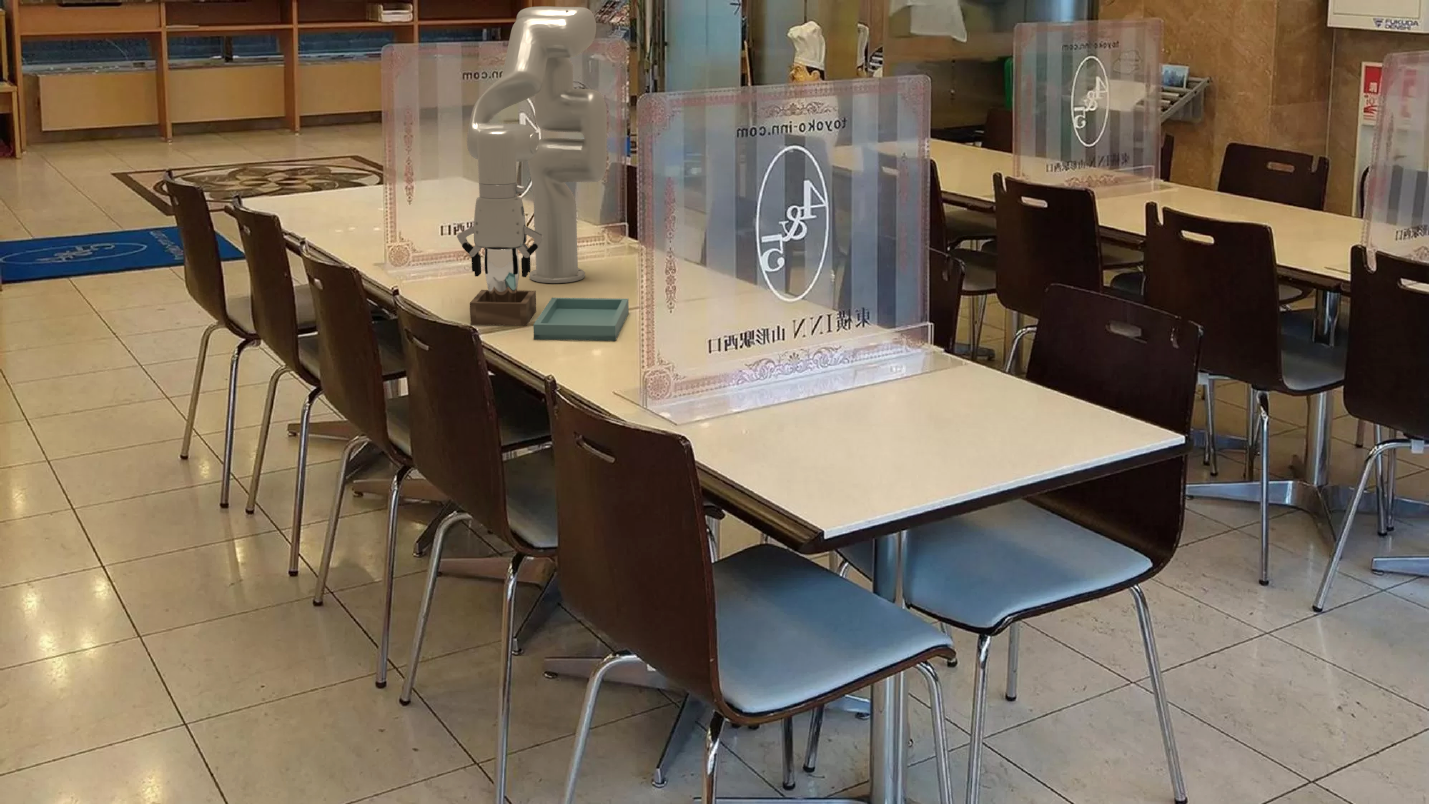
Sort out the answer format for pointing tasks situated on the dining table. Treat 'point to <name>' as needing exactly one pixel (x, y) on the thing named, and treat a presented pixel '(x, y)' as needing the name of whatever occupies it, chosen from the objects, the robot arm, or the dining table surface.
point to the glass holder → (503, 309)
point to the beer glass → (502, 273)
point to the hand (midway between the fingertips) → (501, 275)
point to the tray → (581, 319)
